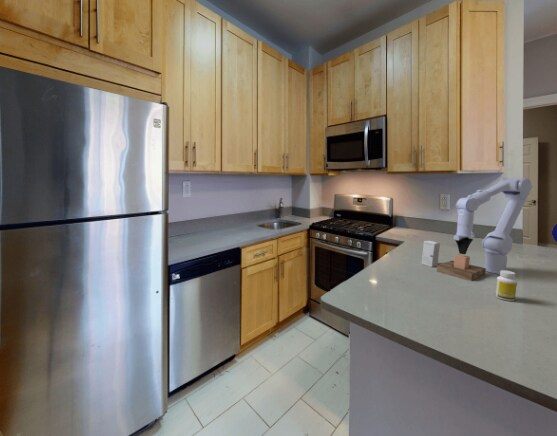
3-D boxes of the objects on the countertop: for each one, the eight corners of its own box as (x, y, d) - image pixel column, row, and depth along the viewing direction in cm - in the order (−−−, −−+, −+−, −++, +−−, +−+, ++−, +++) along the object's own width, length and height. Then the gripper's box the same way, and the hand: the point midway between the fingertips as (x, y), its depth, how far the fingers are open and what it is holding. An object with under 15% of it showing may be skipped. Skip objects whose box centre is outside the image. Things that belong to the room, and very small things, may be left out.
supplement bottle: (518, 302, 90) (522, 275, 88) (500, 300, 91) (504, 274, 89) (508, 295, 95) (511, 270, 94) (491, 294, 96) (494, 269, 95)
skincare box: (421, 263, 133) (422, 240, 131) (427, 262, 134) (428, 240, 133) (432, 267, 127) (434, 243, 125) (438, 266, 129) (440, 242, 127)
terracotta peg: (457, 270, 122) (459, 254, 121) (468, 273, 118) (469, 256, 117) (453, 272, 120) (454, 255, 119) (463, 275, 116) (465, 258, 115)
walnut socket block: (451, 266, 128) (452, 260, 128) (485, 274, 117) (486, 268, 116) (436, 271, 121) (437, 265, 121) (471, 280, 109) (471, 274, 109)
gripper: (467, 227, 109) (464, 258, 111) (482, 224, 116) (479, 253, 118) (449, 225, 115) (447, 254, 117) (464, 222, 122) (462, 250, 124)
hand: (462, 253), depth 118 cm, fingers closed
